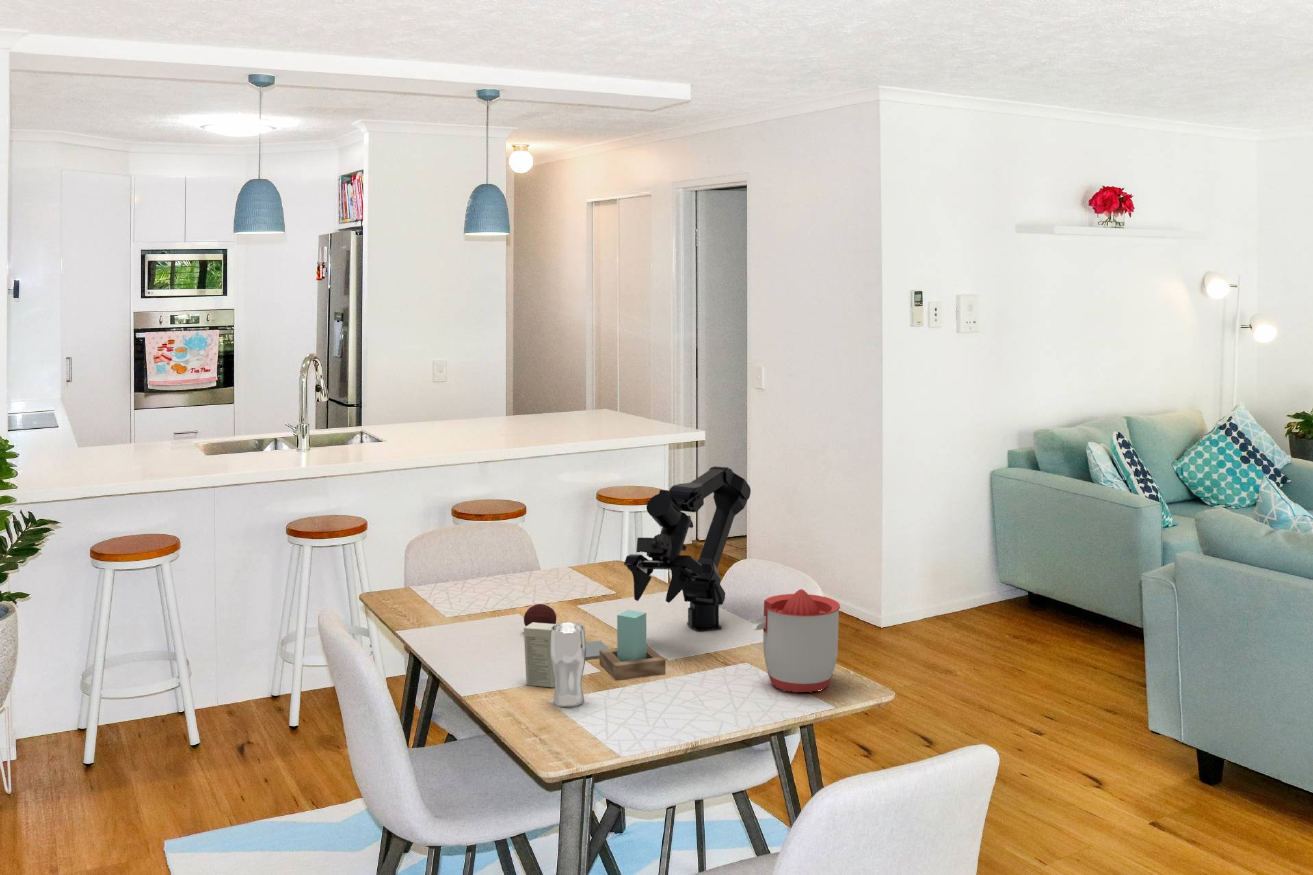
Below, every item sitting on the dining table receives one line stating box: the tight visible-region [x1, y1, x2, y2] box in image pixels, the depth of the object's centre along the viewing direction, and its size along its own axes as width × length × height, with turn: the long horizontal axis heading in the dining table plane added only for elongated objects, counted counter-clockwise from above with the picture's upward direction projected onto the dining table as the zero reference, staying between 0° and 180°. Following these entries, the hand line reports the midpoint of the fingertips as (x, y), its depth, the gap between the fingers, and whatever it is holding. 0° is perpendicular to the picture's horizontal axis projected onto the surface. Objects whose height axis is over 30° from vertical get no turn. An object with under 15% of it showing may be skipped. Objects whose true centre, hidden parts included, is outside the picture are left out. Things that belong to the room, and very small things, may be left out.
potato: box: [523, 603, 557, 627], centre depth 260 cm, size 7×8×7 cm
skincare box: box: [523, 622, 557, 688], centre depth 226 cm, size 6×4×12 cm
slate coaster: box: [585, 640, 610, 661], centre depth 246 cm, size 10×10×1 cm
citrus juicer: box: [753, 588, 841, 693], centre depth 224 cm, size 16×17×20 cm
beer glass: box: [550, 622, 587, 708], centre depth 215 cm, size 7×7×15 cm
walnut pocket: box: [599, 643, 666, 681], centre depth 235 cm, size 11×11×3 cm
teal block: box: [616, 609, 647, 662], centre depth 235 cm, size 4×4×12 cm
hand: (651, 600), depth 242 cm, fingers open, 9 cm apart
